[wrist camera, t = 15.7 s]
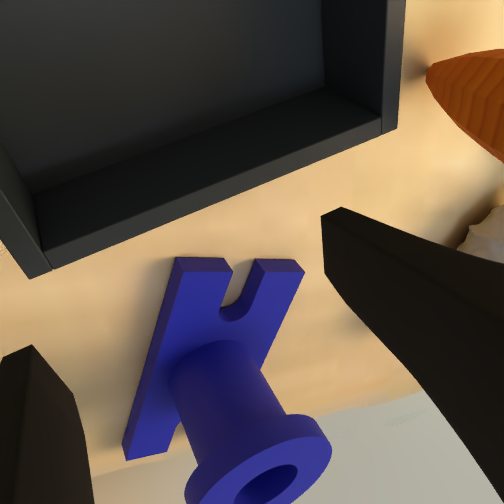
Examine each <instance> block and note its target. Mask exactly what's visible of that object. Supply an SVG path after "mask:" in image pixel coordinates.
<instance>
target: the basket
mask: <svg viewBox="0 0 504 504" xmlns="http://www.w3.org/2000/svg"><path fill="white" fill-rule="evenodd" d="M405 7H406V0H0V240H1V241H2V242H3V244H4V245H5V247H6V248H7V249H8V251H9V252H10V254H11V255H12V256H13V258H14V259H15V261H16V262H17V263H18V265H19V266H20V268H21V269H22V270H23V272H24V273H25V274H26V276H27V277H28V279H33V278H35V277H38V276H40V275H42V274H45V273H47V272H50V271H52V270H53V269H57V268H60V267H62V266H64V265H67V264H69V263H72V262H74V261H77V260H79V259H81V258H84V257H86V256H89V255H91V254H94V253H96V252H98V251H101V250H103V249H106V248H108V247H111V246H113V245H116V244H118V243H120V242H123V241H125V240H128V239H130V238H133V237H135V236H137V235H140V234H142V233H145V232H147V231H150V230H152V229H154V228H157V227H159V226H162V225H164V224H167V223H169V222H171V221H174V220H176V219H179V218H181V217H184V216H186V215H188V214H191V213H193V212H196V211H198V210H201V209H203V208H205V207H208V206H210V205H213V204H215V203H218V202H220V201H223V200H225V199H227V198H230V197H232V196H235V195H237V194H240V193H242V192H244V191H247V190H249V189H252V188H254V187H257V186H259V185H261V184H264V183H266V182H269V181H271V180H274V179H276V178H278V177H281V176H283V175H286V174H288V173H291V172H293V171H295V170H298V169H300V168H303V167H305V166H308V165H310V164H312V163H315V162H317V161H320V160H322V159H325V158H327V157H330V156H332V155H334V154H337V153H339V152H342V151H344V150H347V149H349V148H351V147H354V146H356V145H359V144H361V143H364V142H366V141H368V140H371V139H373V138H376V137H378V136H380V135H383V134H385V133H388V132H390V131H392V130H395V129H397V124H398V109H399V95H400V80H401V65H402V51H403V36H404V22H405Z"/></svg>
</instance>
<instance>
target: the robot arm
mask: <svg viewBox="0 0 504 504" xmlns="http://www.w3.org/2000/svg"><path fill="white" fill-rule="evenodd" d="M321 228H322V243H323V258H324V273H325V275H326V276H327V278H328V279H329V280H330V282H331V283H332V285H333V286H334V288H335V289H336V290H337V292H338V293H339V295H340V296H341V297H342V299H343V300H344V301H345V303H346V304H347V305H348V306H349V307H350V308H351V309H352V311H353V312H354V313H355V314H356V315H357V316H358V317H359V318H360V319H361V320H362V321H363V322H364V323H365V325H366V326H367V327H368V328H369V329H370V330H371V331H372V332H373V333H374V334H375V335H376V336H377V337H378V338H379V339H380V340H381V342H382V343H383V344H384V345H385V346H386V347H387V348H388V349H389V350H390V351H391V352H392V353H393V354H394V355H395V356H396V357H397V359H398V360H399V361H400V362H401V363H402V364H403V365H404V366H405V367H406V368H407V370H408V371H409V372H410V373H411V374H412V375H413V377H414V378H415V379H416V380H417V381H418V383H419V384H420V385H421V387H422V388H423V389H424V391H425V392H426V393H427V394H428V396H429V397H430V398H431V400H432V401H433V402H434V404H435V405H436V406H437V407H438V409H439V410H440V412H441V413H442V414H443V416H444V417H445V418H446V420H447V421H448V423H449V424H450V425H451V427H452V428H453V429H454V431H455V432H456V434H457V435H458V436H459V438H460V439H461V440H462V442H463V443H464V445H465V446H466V447H467V449H468V450H469V452H470V453H471V455H472V456H473V458H474V459H475V460H476V462H477V464H478V465H479V466H480V468H481V469H482V471H483V472H484V474H485V475H486V477H487V478H488V480H489V481H490V483H491V484H492V486H493V487H494V489H495V490H496V492H497V493H498V495H499V497H500V498H501V500H502V501H503V503H504V263H500V262H496V261H492V260H488V259H484V258H481V257H477V256H474V255H470V254H467V253H464V252H461V251H458V250H455V249H452V248H449V247H445V246H442V245H440V244H437V243H434V242H431V241H428V240H425V239H423V238H420V237H417V236H415V235H412V234H409V233H407V232H404V231H402V230H399V229H396V228H394V227H391V226H389V225H386V224H384V223H381V222H379V221H376V220H374V219H371V218H369V217H366V216H364V215H362V214H359V213H356V212H354V211H351V210H349V209H346V208H343V207H340V208H338V209H335V210H333V211H331V212H329V213H326V214H324V215H322V216H321ZM0 504H94V498H93V490H92V483H91V475H90V468H89V461H88V454H87V447H86V441H85V435H84V431H83V427H82V423H81V420H80V416H79V412H78V409H77V405H76V402H75V399H74V395H73V393H72V392H71V391H70V389H69V388H68V387H67V386H66V385H65V383H64V382H63V381H62V380H61V379H60V377H59V376H58V375H57V374H56V373H55V371H54V370H53V369H52V368H51V367H50V365H49V364H48V363H47V362H46V361H45V359H44V358H43V357H42V356H41V355H40V353H39V352H38V351H37V350H36V349H35V347H34V346H33V345H32V344H31V345H29V346H27V347H25V348H22V349H20V350H18V351H16V352H13V353H11V354H9V355H7V356H4V357H3V358H2V361H1V363H0Z"/></svg>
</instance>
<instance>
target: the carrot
mask: <svg viewBox="0 0 504 504" xmlns="http://www.w3.org/2000/svg"><path fill="white" fill-rule="evenodd" d="M426 83H427V85H428V87H429V89H430V91H431V93H432V95H433V96H434V98H435V99H436V101H437V102H438V103H439V104H440V106H441V107H442V108H443V109H444V111H445V112H446V113H447V114H448V115H449V117H450V118H451V119H452V120H453V121H454V122H455V123H456V125H457V126H458V127H459V128H460V129H461V130H463V131H464V132H465V133H466V134H467V135H469V136H470V137H471V138H472V139H473V140H474V141H476V142H477V143H478V144H479V145H480V146H482V147H483V148H484V149H486V150H487V151H488V152H490V153H491V154H492V155H493V156H495V157H496V158H497V159H499V160H500V161H501V162H503V163H504V49H495V50H488V51H481V52H475V53H468V54H465V55H461V56H458V57H454V58H450V59H447V60H443V61H440V62H437V63H433V64H432V65H431V66H430V67H429V68H428V70H427V71H426Z"/></svg>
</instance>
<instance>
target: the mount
mask: <svg viewBox="0 0 504 504" xmlns="http://www.w3.org/2000/svg"><path fill="white" fill-rule="evenodd" d="M232 274H233V271H232V269H231V268H230V266H229V265H228V263H227V262H226V260H225V259H224V258H197V257H176V258H175V262H174V265H173V269H172V272H171V276H170V279H169V283H168V286H167V289H166V293H165V296H164V300H163V303H162V307H161V310H160V314H159V317H158V321H157V324H156V327H155V331H154V334H153V338H152V341H151V345H150V348H149V352H148V355H147V359H146V362H145V366H144V369H143V372H142V376H141V379H140V383H139V386H138V390H137V393H136V397H135V400H134V404H133V407H132V410H131V414H130V417H129V421H128V424H127V428H126V431H125V435H124V438H123V442H122V447H123V451H124V455H125V459H126V461H128V460H133V459H137V458H141V457H146V456H150V455H155V454H159V453H164V452H167V450H168V447H169V445H170V442H171V439H172V436H173V434H174V431H175V428H176V426H177V425H178V424H179V422H181V421H182V424H183V427H184V429H185V432H186V434H187V437H188V440H189V442H190V445H191V448H192V450H193V453H194V456H195V458H196V461H197V464H198V467H197V468H196V469H195V470H194V472H193V473H192V475H191V476H190V478H189V480H188V482H187V484H186V487H185V493H184V495H185V501H186V503H187V504H290V503H292V502H293V501H294V500H296V499H297V498H298V497H299V496H301V495H302V494H303V493H304V492H305V491H306V490H307V489H309V488H310V487H311V486H312V485H313V484H314V483H315V481H316V480H317V479H318V478H319V477H320V476H321V474H322V473H323V472H324V470H325V469H326V467H327V465H328V463H329V461H330V458H331V455H332V447H331V445H330V443H329V441H328V440H327V438H326V436H325V435H324V433H323V432H322V430H321V429H320V427H319V425H318V424H317V422H316V421H315V420H314V419H313V418H311V417H309V416H306V415H300V414H290V415H286V413H285V411H284V410H283V408H282V406H281V405H280V403H279V401H278V400H277V398H276V396H275V394H274V393H273V391H272V389H271V388H270V386H269V384H268V383H267V381H266V379H265V378H264V376H263V374H262V372H261V371H260V369H261V367H262V364H263V362H264V360H265V358H266V356H267V354H268V352H269V349H270V347H271V345H272V343H273V341H274V339H275V336H276V334H277V332H278V330H279V328H280V326H281V323H282V321H283V319H284V317H285V315H286V313H287V310H288V308H289V306H290V304H291V302H292V300H293V297H294V295H295V293H296V291H297V289H298V287H299V284H300V282H301V280H302V278H303V276H304V274H305V271H304V270H303V269H302V268H301V267H300V266H299V265H298V263H297V262H296V261H295V260H284V259H255V261H254V264H253V266H252V269H251V271H250V274H249V276H248V279H247V281H246V284H245V287H244V289H243V292H242V294H241V296H240V298H239V299H238V300H237V301H236V302H235V303H233V304H232V305H230V306H227V307H223V308H220V306H221V304H222V301H223V298H224V296H225V293H226V290H227V287H228V285H229V282H230V279H231V277H232Z"/></svg>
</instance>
